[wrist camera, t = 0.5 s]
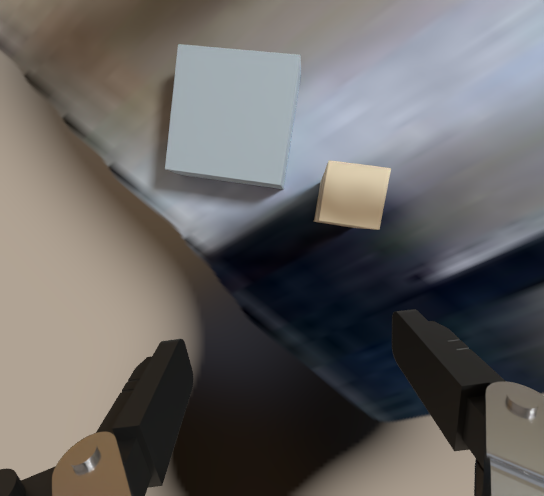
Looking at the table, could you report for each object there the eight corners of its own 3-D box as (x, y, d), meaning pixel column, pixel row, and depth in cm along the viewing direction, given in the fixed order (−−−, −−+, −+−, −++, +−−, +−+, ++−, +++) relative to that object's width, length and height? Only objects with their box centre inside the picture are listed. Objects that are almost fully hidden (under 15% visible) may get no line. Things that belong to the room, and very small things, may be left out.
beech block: (320, 182, 34) (329, 160, 23) (360, 187, 34) (390, 168, 22) (313, 221, 35) (318, 220, 23) (353, 227, 34) (379, 229, 23)
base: (192, 64, 35) (178, 44, 31) (300, 74, 34) (300, 54, 30) (180, 174, 36) (164, 168, 32) (283, 189, 35) (280, 185, 31)
